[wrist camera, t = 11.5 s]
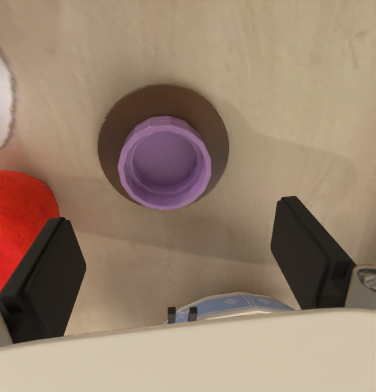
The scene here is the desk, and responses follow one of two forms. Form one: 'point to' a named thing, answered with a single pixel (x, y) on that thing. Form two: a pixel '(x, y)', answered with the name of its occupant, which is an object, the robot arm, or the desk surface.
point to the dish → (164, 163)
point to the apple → (21, 217)
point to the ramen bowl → (226, 307)
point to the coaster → (154, 107)
